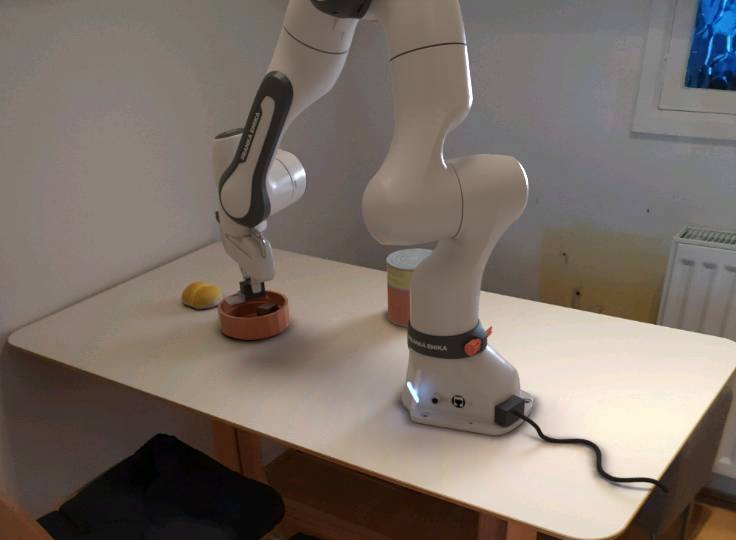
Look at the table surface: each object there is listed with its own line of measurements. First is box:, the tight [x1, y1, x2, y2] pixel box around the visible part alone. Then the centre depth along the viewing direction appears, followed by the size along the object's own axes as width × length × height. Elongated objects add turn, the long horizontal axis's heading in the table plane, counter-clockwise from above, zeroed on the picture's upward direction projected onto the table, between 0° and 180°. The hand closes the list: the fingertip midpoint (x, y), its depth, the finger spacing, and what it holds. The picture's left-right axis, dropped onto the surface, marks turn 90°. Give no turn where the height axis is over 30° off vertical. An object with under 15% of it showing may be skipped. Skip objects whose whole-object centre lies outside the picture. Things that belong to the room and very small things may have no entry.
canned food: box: [385, 247, 434, 328], centre depth 165 cm, size 11×11×12 cm
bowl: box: [217, 289, 291, 341], centre depth 167 cm, size 14×14×5 cm
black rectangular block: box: [224, 280, 266, 305], centre depth 165 cm, size 8×3×3 cm, turn 116°
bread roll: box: [181, 281, 224, 310], centre depth 178 cm, size 8×9×4 cm
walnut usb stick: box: [256, 302, 278, 317], centre depth 166 cm, size 8×3×3 cm, turn 155°
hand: (252, 288), depth 166 cm, fingers closed on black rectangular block, 2 cm apart
